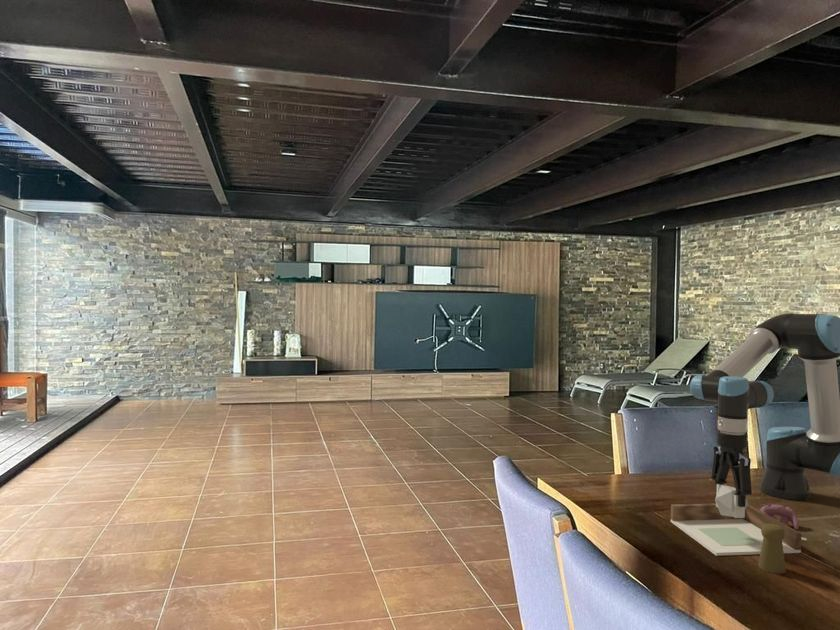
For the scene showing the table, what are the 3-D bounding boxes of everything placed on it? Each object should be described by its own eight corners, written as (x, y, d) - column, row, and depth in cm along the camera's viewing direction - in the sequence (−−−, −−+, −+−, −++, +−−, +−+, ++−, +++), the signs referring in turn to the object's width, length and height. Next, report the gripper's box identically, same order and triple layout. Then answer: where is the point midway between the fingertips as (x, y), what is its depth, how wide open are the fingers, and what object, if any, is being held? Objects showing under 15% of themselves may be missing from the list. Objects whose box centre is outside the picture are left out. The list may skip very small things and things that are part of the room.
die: (748, 515, 173) (729, 483, 177) (760, 510, 165) (739, 476, 170) (722, 525, 172) (704, 493, 177) (732, 521, 165) (713, 487, 169)
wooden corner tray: (744, 519, 187) (745, 502, 187) (800, 552, 163) (801, 533, 163) (670, 521, 185) (670, 504, 184) (716, 555, 161) (716, 536, 161)
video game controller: (796, 531, 182) (793, 507, 185) (800, 529, 178) (798, 505, 181) (759, 527, 185) (757, 503, 188) (762, 525, 181) (760, 501, 184)
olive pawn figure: (753, 563, 156) (754, 521, 156) (775, 562, 157) (776, 520, 157) (768, 574, 150) (769, 530, 150) (791, 573, 151) (792, 529, 151)
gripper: (699, 424, 180) (697, 499, 181) (742, 441, 160) (739, 526, 161) (723, 423, 181) (721, 499, 182) (769, 440, 161) (766, 525, 161)
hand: (729, 511), depth 171 cm, fingers closed on die, 8 cm apart
